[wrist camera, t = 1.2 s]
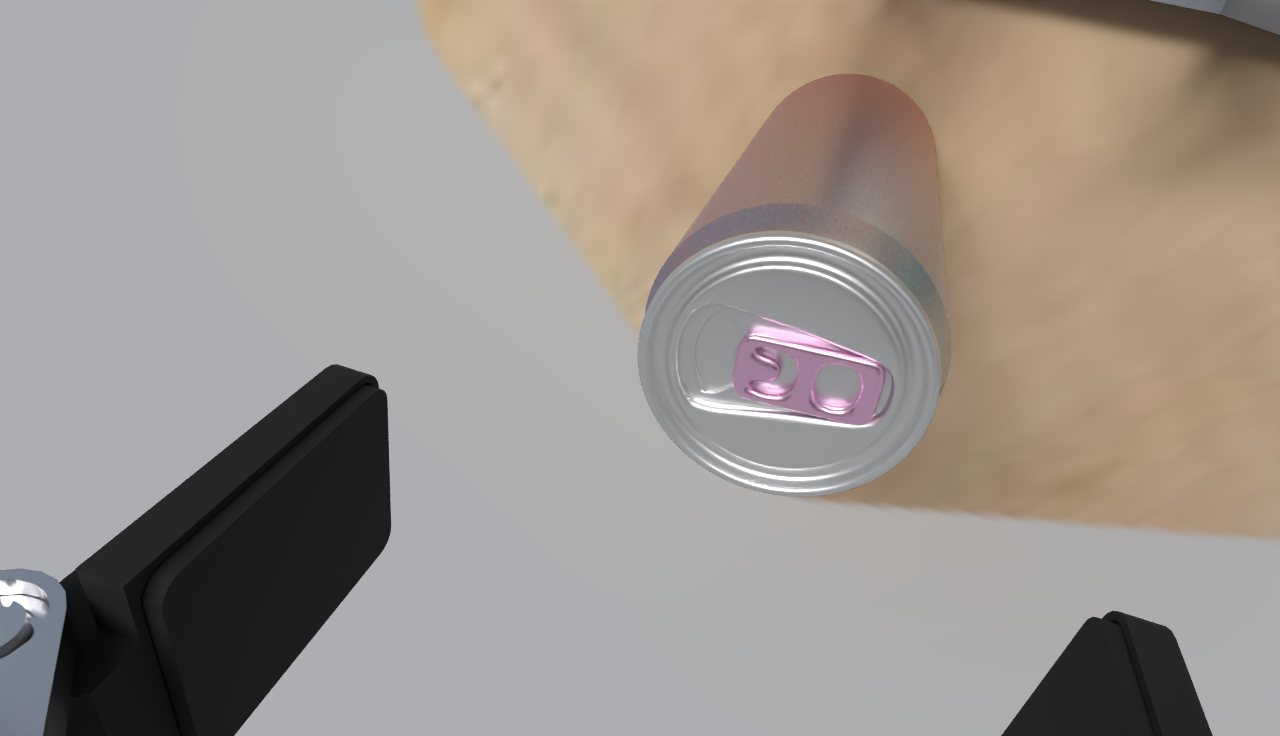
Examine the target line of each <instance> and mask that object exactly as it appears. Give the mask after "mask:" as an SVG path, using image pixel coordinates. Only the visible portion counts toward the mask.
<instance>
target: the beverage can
mask: <svg viewBox="0 0 1280 736" xmlns="http://www.w3.org/2000/svg"><path fill="white" fill-rule="evenodd" d="M950 354H951V338H950V325H949V313H948V300H947V287H946V274H945V261H944V249H943V236H942V223H941V210H940V198H939V185H938V172H937V159H936V147H935V141H934V137H933V133H932V131H931V128H930V125H929V123H928V121H927V119H926V117H925V115H924V114H923V112H922V111H921V109H920V108H919V107H918V105H917V104H916V103H915V102H914V101H913V100H912V99H911V98H910V97H909V96H908V95H907V94H906V93H904V92H903V91H902V90H900V89H899V88H897V87H896V86H894V85H892V84H890V83H888V82H886V81H884V80H881V79H878V78H875V77H871V76H866V75H860V74H839V75H832V76H827V77H823V78H820V79H817V80H814V81H812V82H810V83H807V84H805V85H803V86H802V87H800V88H798V89H797V90H795V91H794V92H792V93H791V94H790V95H789V96H787V97H786V98H785V99H784V100H783V101H782V102H781V103H780V104H779V105H778V106H777V107H776V108H775V109H774V111H773V112H772V113H771V115H770V116H769V117H768V119H767V120H766V122H765V123H764V124H763V126H762V127H761V129H760V130H759V131H758V133H757V134H756V136H755V137H754V138H753V140H752V141H751V143H750V144H749V145H748V147H747V148H746V150H745V151H744V152H743V154H742V155H741V157H740V158H739V159H738V161H737V162H736V164H735V165H734V166H733V168H732V169H731V171H730V172H729V173H728V175H727V176H726V178H725V179H724V180H723V182H722V183H721V185H720V186H719V187H718V189H717V190H716V192H715V193H714V194H713V196H712V197H711V199H710V200H709V201H708V203H707V204H706V206H705V207H704V209H703V210H702V211H701V213H700V214H699V216H698V217H697V218H696V220H695V221H694V223H693V224H692V225H691V227H690V228H689V230H688V231H687V232H686V234H685V235H684V237H683V238H682V239H681V241H680V242H679V244H678V245H677V246H676V248H675V249H674V251H673V252H672V253H671V255H670V256H669V258H668V259H667V260H666V262H665V263H664V265H663V266H662V268H661V270H660V271H659V273H658V275H657V277H656V279H655V281H654V283H653V286H652V288H651V291H650V294H649V297H648V301H647V305H646V311H645V316H644V319H643V322H642V326H641V330H640V335H639V342H638V368H639V375H640V380H641V384H642V388H643V391H644V394H645V397H646V399H647V402H648V404H649V406H650V408H651V410H652V412H653V414H654V416H655V418H656V419H657V421H658V422H659V424H660V425H661V427H662V428H663V430H664V431H665V432H666V434H667V435H668V436H669V437H670V439H671V440H672V441H673V442H674V443H675V444H676V445H677V446H678V447H679V448H680V449H681V450H682V451H683V452H684V453H685V454H686V455H688V456H689V457H690V458H691V459H693V460H694V461H695V462H696V463H698V464H699V465H701V466H702V467H704V468H705V469H707V470H708V471H710V472H712V473H713V474H715V475H717V476H719V477H721V478H723V479H725V480H727V481H730V482H732V483H734V484H737V485H739V486H742V487H745V488H748V489H752V490H755V491H759V492H764V493H768V494H774V495H782V496H796V497H805V496H820V495H827V494H833V493H838V492H842V491H846V490H849V489H852V488H855V487H858V486H861V485H863V484H865V483H868V482H870V481H872V480H874V479H876V478H877V477H879V476H881V475H883V474H884V473H886V472H887V471H889V470H890V469H892V468H893V467H894V466H896V465H897V464H898V463H899V462H900V461H902V460H903V459H904V458H905V457H906V456H907V455H908V454H909V453H910V452H911V451H912V450H913V448H914V447H915V446H916V445H917V443H918V442H919V441H920V439H921V438H922V436H923V435H924V433H925V432H926V430H927V428H928V426H929V424H930V422H931V420H932V417H933V415H934V413H935V409H936V406H937V403H938V398H939V396H940V394H941V391H942V389H943V386H944V383H945V380H946V377H947V373H948V368H949V363H950Z"/></svg>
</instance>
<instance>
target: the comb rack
mask: <svg viewBox="0 0 1280 736" xmlns="http://www.w3.org/2000/svg"><path fill="white" fill-rule="evenodd" d="M1151 1H1156V2H1161V3H1166V4H1171V5H1176V6H1181V7H1186V8H1191V9H1196V10H1201V11H1206V12H1211V13H1216V14H1221V15H1224V16H1226V17H1229V18H1232V19H1235V20H1238V21H1241V22H1244V23H1247V24H1249V25H1252V26H1255V27H1258V28H1261V29H1264V30H1267V31H1270V32H1273V33H1275V34H1278V35H1280V0H1151Z"/></svg>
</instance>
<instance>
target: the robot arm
mask: <svg viewBox="0 0 1280 736" xmlns="http://www.w3.org/2000/svg"><path fill="white" fill-rule="evenodd" d="M389 475H390V474H389V441H388V407H387V395H386V393H385V391H383V390H381V389H379V386H378V382H377V380H376V378H375V377H373V376H372V375H369V374H366V373H363V372H359V371H356V370H353V369H350V368H347V367H344V366H340V365H337V364H336V365H331V366H329V367H327V368H325V369H324V370H323V371H322V372H320V373H319V374H318V375H317V376H315V377H314V378H313V379H312V380H310V381H309V382H308V383H307V384H305V385H304V386H303V387H302V388H300V389H299V390H298V391H297V392H295V393H294V394H293V395H292V396H290V397H289V398H288V399H287V400H285V401H284V402H283V403H282V404H280V405H279V406H278V407H277V408H276V409H274V410H273V411H272V412H270V413H269V414H268V415H267V416H265V417H264V418H263V419H262V420H260V421H259V422H258V423H257V424H255V425H254V426H253V427H252V428H251V429H249V430H248V431H247V432H245V433H244V434H243V435H242V436H240V437H239V438H238V439H237V440H235V441H234V442H233V443H232V444H230V445H229V446H228V447H227V448H226V449H224V450H223V451H222V452H221V453H219V454H218V455H217V456H215V457H214V458H213V459H212V460H211V461H209V462H208V463H207V464H206V465H204V466H203V467H202V468H201V469H199V470H198V471H197V472H196V473H194V474H193V475H192V476H191V477H189V478H188V479H187V480H186V481H184V482H183V483H182V484H181V485H180V486H178V487H177V488H176V489H174V490H173V491H172V492H171V493H169V494H168V495H167V496H166V497H164V498H163V499H162V500H161V501H159V502H158V503H157V504H156V505H154V506H153V507H152V508H151V509H149V510H148V511H147V512H146V513H144V514H143V515H142V516H141V517H139V518H138V519H137V520H136V521H134V522H133V523H132V524H131V525H129V526H128V527H127V528H126V529H124V530H123V531H122V532H121V533H119V534H118V535H117V536H116V537H114V538H113V539H112V540H111V541H109V542H108V543H107V544H106V545H105V546H103V547H102V548H101V549H100V550H98V551H97V552H96V553H94V554H93V555H92V556H91V557H90V558H88V559H87V560H86V561H85V562H83V563H82V564H81V565H79V566H78V567H77V568H76V570H74V571H73V572H72V573H71V574H69V575H68V576H67V577H66V578H64V579H63V580H62V581H61V582H58V580H57V579H54V578H53V577H51V576H49V575H47V574H45V573H43V572H40V571H32V570H26V569H10V570H0V736H234V735H235V734H236V733H237V731H238V730H239V729H240V728H241V726H242V725H243V724H244V723H245V721H246V720H247V719H248V718H249V716H250V715H251V714H252V713H253V711H254V710H255V709H256V708H257V706H258V705H259V704H260V703H261V701H262V700H263V699H264V697H265V696H266V695H267V694H268V693H269V692H270V690H271V689H272V688H273V687H274V685H275V684H276V683H277V681H278V680H279V679H280V678H281V677H282V675H283V674H284V673H285V672H286V670H287V669H288V668H289V667H290V665H291V664H292V663H293V662H294V660H295V659H296V658H297V657H298V655H299V654H300V653H301V652H302V650H303V649H304V648H305V647H306V645H307V644H308V643H309V642H310V641H311V639H312V638H313V637H314V636H315V634H316V633H317V632H318V631H319V629H320V628H321V627H322V626H323V624H324V623H325V622H326V621H327V619H328V618H329V617H330V616H331V614H332V613H333V612H334V611H335V610H336V608H337V607H338V606H339V605H340V603H341V602H342V601H343V600H344V598H345V597H346V596H347V595H348V593H349V592H350V591H351V590H352V588H353V587H354V586H355V585H356V583H357V582H358V581H359V580H360V578H361V577H362V576H363V575H364V573H365V572H366V571H367V570H368V569H369V567H370V566H371V565H372V563H373V562H374V561H375V560H376V558H377V557H378V556H379V555H380V554H381V552H382V551H383V549H384V547H385V545H386V544H387V541H388V539H389V536H390V531H391V511H390V510H391V509H390V476H389ZM1002 736H1212V733H1211V730H1210V728H1209V725H1208V722H1207V720H1206V717H1205V715H1204V712H1203V709H1202V707H1201V704H1200V701H1199V699H1198V696H1197V693H1196V691H1195V688H1194V686H1193V683H1192V680H1191V677H1190V675H1189V672H1188V670H1187V667H1186V664H1185V662H1184V659H1183V656H1182V654H1181V651H1180V648H1179V646H1178V643H1177V640H1176V638H1175V636H1174V634H1173V633H1172V631H1171V630H1170V629H1168V628H1167V627H1166V626H1163V625H1159V624H1156V623H1153V622H1150V621H1147V620H1144V619H1140V618H1137V617H1134V616H1131V615H1128V614H1124V613H1121V612H1118V611H1111V612H1109V613H1107V614H1106V615H1105V616H1104V617H1103V618H1102V619H1100V618H1097V617H1091V618H1089V619H1088V620H1087V621H1086V622H1085V623H1084V624H1083V626H1082V627H1081V628H1080V630H1079V631H1078V632H1077V634H1076V635H1075V636H1074V638H1073V639H1072V641H1071V642H1070V643H1069V645H1068V646H1067V647H1066V649H1065V650H1064V652H1063V653H1062V654H1061V656H1060V657H1059V658H1058V660H1057V661H1056V662H1055V664H1054V665H1053V666H1052V668H1051V669H1050V670H1049V672H1048V673H1047V674H1046V676H1045V677H1044V679H1043V680H1042V681H1041V683H1040V684H1039V686H1038V687H1037V688H1036V689H1035V691H1034V692H1033V693H1032V695H1031V696H1030V698H1029V699H1028V700H1027V702H1026V703H1025V704H1024V706H1023V707H1022V709H1021V710H1020V711H1019V712H1018V714H1017V715H1016V717H1015V718H1014V719H1013V721H1012V722H1011V723H1010V725H1009V726H1008V727H1007V729H1006V730H1005V731H1004V733H1003V734H1002Z"/></svg>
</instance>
